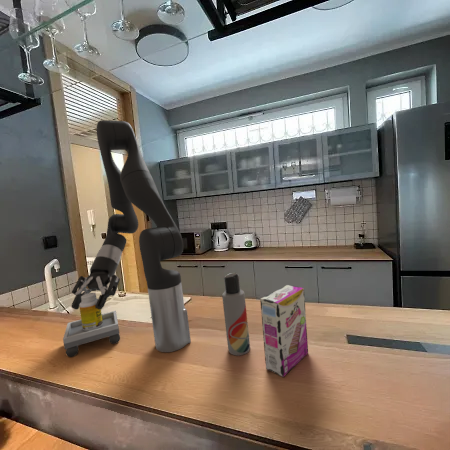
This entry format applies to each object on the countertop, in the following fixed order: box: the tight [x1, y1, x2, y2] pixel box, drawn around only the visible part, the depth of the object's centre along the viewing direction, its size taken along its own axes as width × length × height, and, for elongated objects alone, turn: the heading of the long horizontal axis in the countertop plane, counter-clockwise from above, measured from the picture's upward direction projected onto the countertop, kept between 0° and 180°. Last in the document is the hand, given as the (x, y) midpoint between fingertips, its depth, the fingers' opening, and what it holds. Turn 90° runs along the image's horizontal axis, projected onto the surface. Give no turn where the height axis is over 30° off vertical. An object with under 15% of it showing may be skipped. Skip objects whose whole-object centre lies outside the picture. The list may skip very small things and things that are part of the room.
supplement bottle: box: [79, 292, 103, 331], centre depth 79 cm, size 6×6×10 cm
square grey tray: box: [62, 310, 121, 358], centre depth 79 cm, size 14×12×6 cm
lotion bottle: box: [221, 272, 251, 356], centre depth 66 cm, size 6×6×20 cm
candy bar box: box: [259, 284, 309, 378], centre depth 59 cm, size 11×5×16 cm, turn 135°
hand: (86, 308), depth 77 cm, fingers open, 8 cm apart
